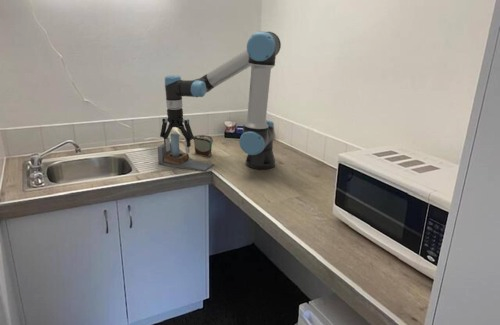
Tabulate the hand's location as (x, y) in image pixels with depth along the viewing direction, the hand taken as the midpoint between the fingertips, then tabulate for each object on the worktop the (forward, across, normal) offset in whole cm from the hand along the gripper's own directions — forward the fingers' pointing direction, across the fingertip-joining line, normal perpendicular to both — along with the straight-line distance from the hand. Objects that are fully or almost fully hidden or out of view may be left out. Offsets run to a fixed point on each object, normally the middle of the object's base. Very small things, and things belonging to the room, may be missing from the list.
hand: (177, 151), depth 190 cm
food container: (+7, +5, +20) cm, 21 cm away
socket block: (+5, -1, 0) cm, 5 cm away
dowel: (+5, -2, 0) cm, 5 cm away
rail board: (+6, +4, 0) cm, 8 cm away
